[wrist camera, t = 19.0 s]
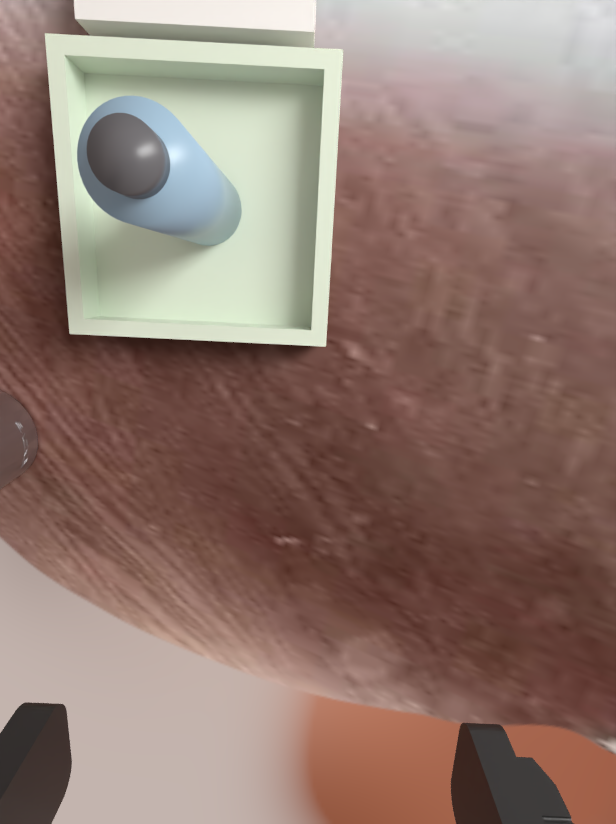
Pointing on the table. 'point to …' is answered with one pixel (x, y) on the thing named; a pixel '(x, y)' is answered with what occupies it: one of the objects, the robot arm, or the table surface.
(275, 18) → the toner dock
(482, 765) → the robot arm
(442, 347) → the table surface
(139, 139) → the bottle
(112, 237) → the tray
